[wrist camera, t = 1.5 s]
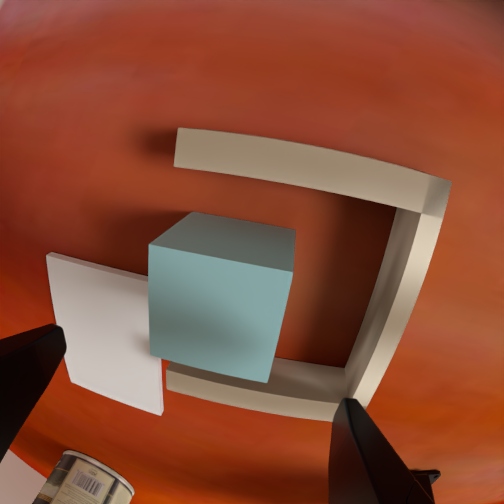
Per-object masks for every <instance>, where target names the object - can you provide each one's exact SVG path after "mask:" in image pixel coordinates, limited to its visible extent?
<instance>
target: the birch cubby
mask: <svg viewBox="0 0 504 504" xmlns="http://www.w3.org/2000/svg"><path fill="white" fill-rule="evenodd" d="M174 167H181V168H189V169H196V170H204V171H211V172H218V173H225V174H232V175H238V176H245V177H251V178H257V179H263V180H269V181H275V182H280V183H286V184H291V185H297V186H302V187H307V188H313V189H318V190H323V191H328V192H332V193H337V194H342V195H347V196H351V197H356V198H360V199H365V200H369V201H374V202H378V203H382V204H386V205H391V206H395V207H397V209H396V213H395V217H394V221H393V225H392V229H391V233H390V236H389V240H388V244H387V247H386V251H385V254H384V258H383V261H382V264H381V268H380V271H379V274H378V277H377V280H376V284H375V287H374V290H373V293H372V296H371V299H370V302H369V305H368V308H367V311H366V313H365V316H364V319H363V322H362V325H361V327H360V330H359V333H358V335H357V338H356V341H355V343H354V346H353V349H352V351H351V354H350V356H349V359H348V361H347V364H346V366H345V368H340V367H332V366H325V365H319V364H312V363H306V362H300V361H294V360H288V359H282V358H277V357H274V358H273V363H272V367H271V371H270V375H269V379H268V382H267V383H264V382H258V381H253V380H248V379H243V378H239V377H234V376H229V375H225V374H220V373H216V372H212V371H208V370H203V369H199V368H195V367H191V366H188V365H184V364H180V363H176V362H173V361H171V362H170V364H169V366H168V367H167V369H166V380H167V389H168V390H172V391H175V392H179V393H182V394H186V395H190V396H194V397H198V398H201V399H205V400H210V401H214V402H218V403H222V404H227V405H231V406H236V407H241V408H246V409H251V410H256V411H261V412H267V413H273V414H279V415H285V416H291V417H298V418H306V419H313V420H322V421H331V422H333V417H334V414H335V412H336V410H337V408H338V406H339V404H340V402H341V400H342V399H343V398H345V397H346V398H355V399H357V400H358V401H359V402H360V404H361V405H362V407H363V408H364V409H366V407H367V405H368V404H369V402H370V400H371V398H372V396H373V394H374V392H375V390H376V389H377V387H378V385H379V383H380V381H381V379H382V377H383V375H384V373H385V371H386V369H387V367H388V365H389V363H390V360H391V358H392V356H393V354H394V352H395V350H396V347H397V345H398V343H399V341H400V339H401V336H402V334H403V332H404V329H405V327H406V325H407V322H408V320H409V317H410V315H411V312H412V310H413V307H414V305H415V302H416V300H417V297H418V294H419V292H420V289H421V286H422V283H423V281H424V278H425V275H426V272H427V269H428V266H429V263H430V260H431V257H432V254H433V251H434V247H435V244H436V241H437V238H438V234H439V231H440V227H441V224H442V220H443V216H444V212H445V209H446V205H447V201H448V197H449V192H450V188H451V184H452V182H451V181H448V180H445V179H443V178H440V177H437V176H434V175H431V174H428V173H425V172H422V171H418V170H415V169H411V168H408V167H404V166H401V165H397V164H393V163H389V162H386V161H382V160H378V159H374V158H370V157H366V156H361V155H357V154H353V153H348V152H344V151H339V150H335V149H330V148H325V147H320V146H315V145H310V144H304V143H299V142H293V141H288V140H282V139H276V138H269V137H263V136H256V135H249V134H242V133H234V132H226V131H217V130H208V129H195V128H178V132H177V141H176V150H175V159H174Z"/></svg>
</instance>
